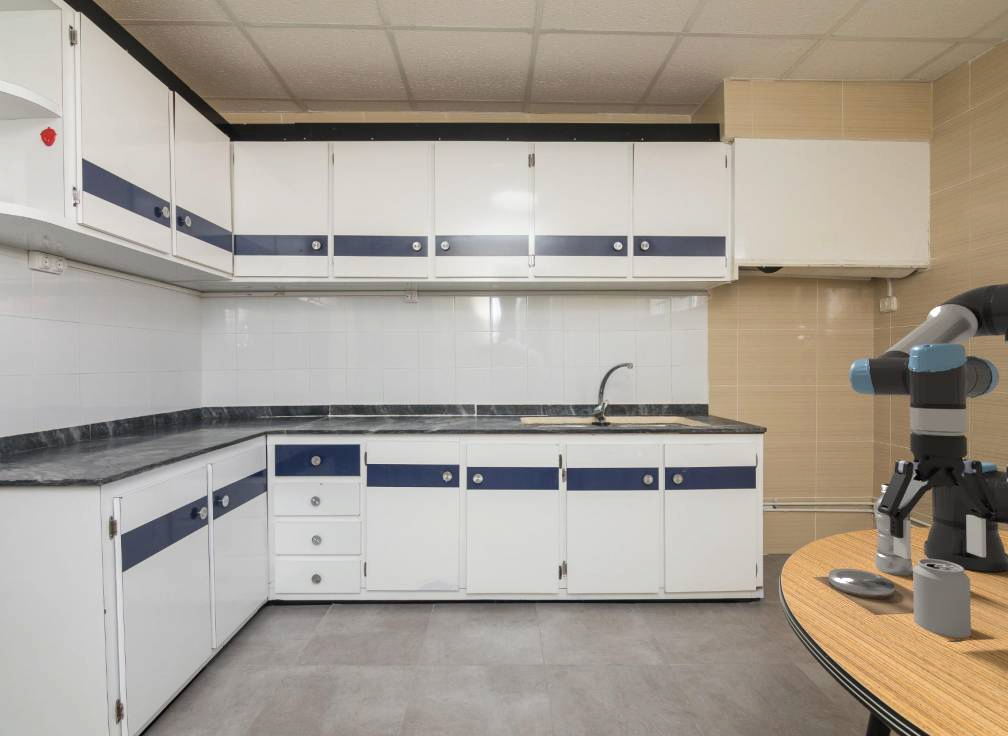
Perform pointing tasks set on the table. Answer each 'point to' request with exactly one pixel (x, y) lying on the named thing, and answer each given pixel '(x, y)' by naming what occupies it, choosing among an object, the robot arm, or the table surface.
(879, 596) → the grey hollow ring
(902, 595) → the board
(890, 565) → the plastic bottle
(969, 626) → the can
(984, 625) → the table surface
